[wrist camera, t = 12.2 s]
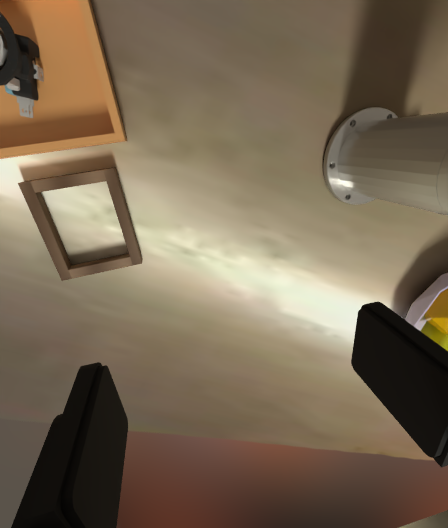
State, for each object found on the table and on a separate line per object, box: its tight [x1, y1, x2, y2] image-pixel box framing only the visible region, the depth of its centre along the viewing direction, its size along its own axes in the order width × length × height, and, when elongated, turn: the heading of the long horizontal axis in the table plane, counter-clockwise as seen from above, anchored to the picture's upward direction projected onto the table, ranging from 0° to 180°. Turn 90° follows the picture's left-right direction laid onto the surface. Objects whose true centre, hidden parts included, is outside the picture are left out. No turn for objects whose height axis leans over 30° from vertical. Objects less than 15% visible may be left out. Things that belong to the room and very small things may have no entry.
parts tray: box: [0, 0, 127, 159], centre depth 25 cm, size 16×13×3 cm
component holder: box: [18, 167, 142, 281], centre depth 33 cm, size 10×12×2 cm
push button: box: [0, 12, 44, 118], centre depth 22 cm, size 7×5×10 cm
